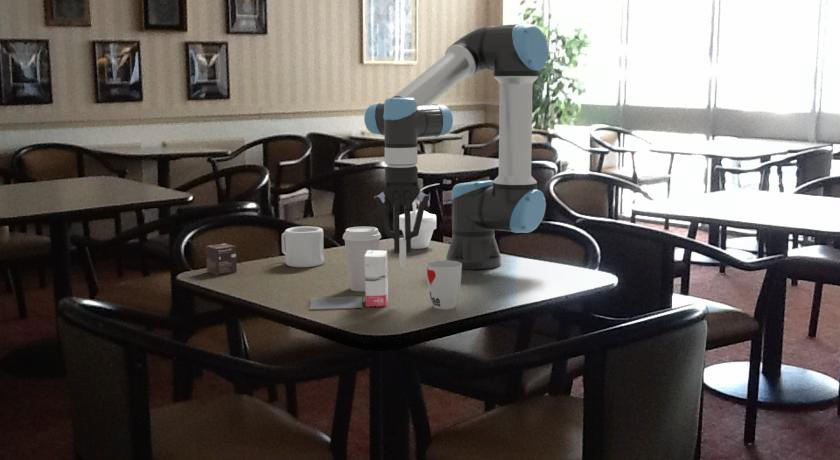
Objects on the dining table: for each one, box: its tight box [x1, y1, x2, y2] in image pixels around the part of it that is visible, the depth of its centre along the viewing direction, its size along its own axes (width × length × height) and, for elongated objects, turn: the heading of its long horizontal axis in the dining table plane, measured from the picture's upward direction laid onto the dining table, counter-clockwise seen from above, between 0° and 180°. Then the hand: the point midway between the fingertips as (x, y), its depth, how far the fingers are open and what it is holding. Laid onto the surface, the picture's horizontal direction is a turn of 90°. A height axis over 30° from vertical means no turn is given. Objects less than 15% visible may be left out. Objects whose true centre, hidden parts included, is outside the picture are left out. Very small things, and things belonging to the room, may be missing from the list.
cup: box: [426, 260, 463, 310], centre depth 220 cm, size 8×8×10 cm
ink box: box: [364, 249, 389, 308], centre depth 225 cm, size 9×5×12 cm, turn 178°
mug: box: [281, 225, 325, 268], centre depth 272 cm, size 14×11×10 cm
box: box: [205, 243, 238, 276], centre depth 262 cm, size 6×6×7 cm
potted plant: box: [399, 183, 439, 250], centre depth 293 cm, size 13×12×25 cm
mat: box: [309, 295, 363, 311], centre depth 225 cm, size 12×11×1 cm
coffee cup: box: [342, 226, 382, 292], centre depth 239 cm, size 10×10×15 cm
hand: (402, 266), depth 225 cm, fingers closed
